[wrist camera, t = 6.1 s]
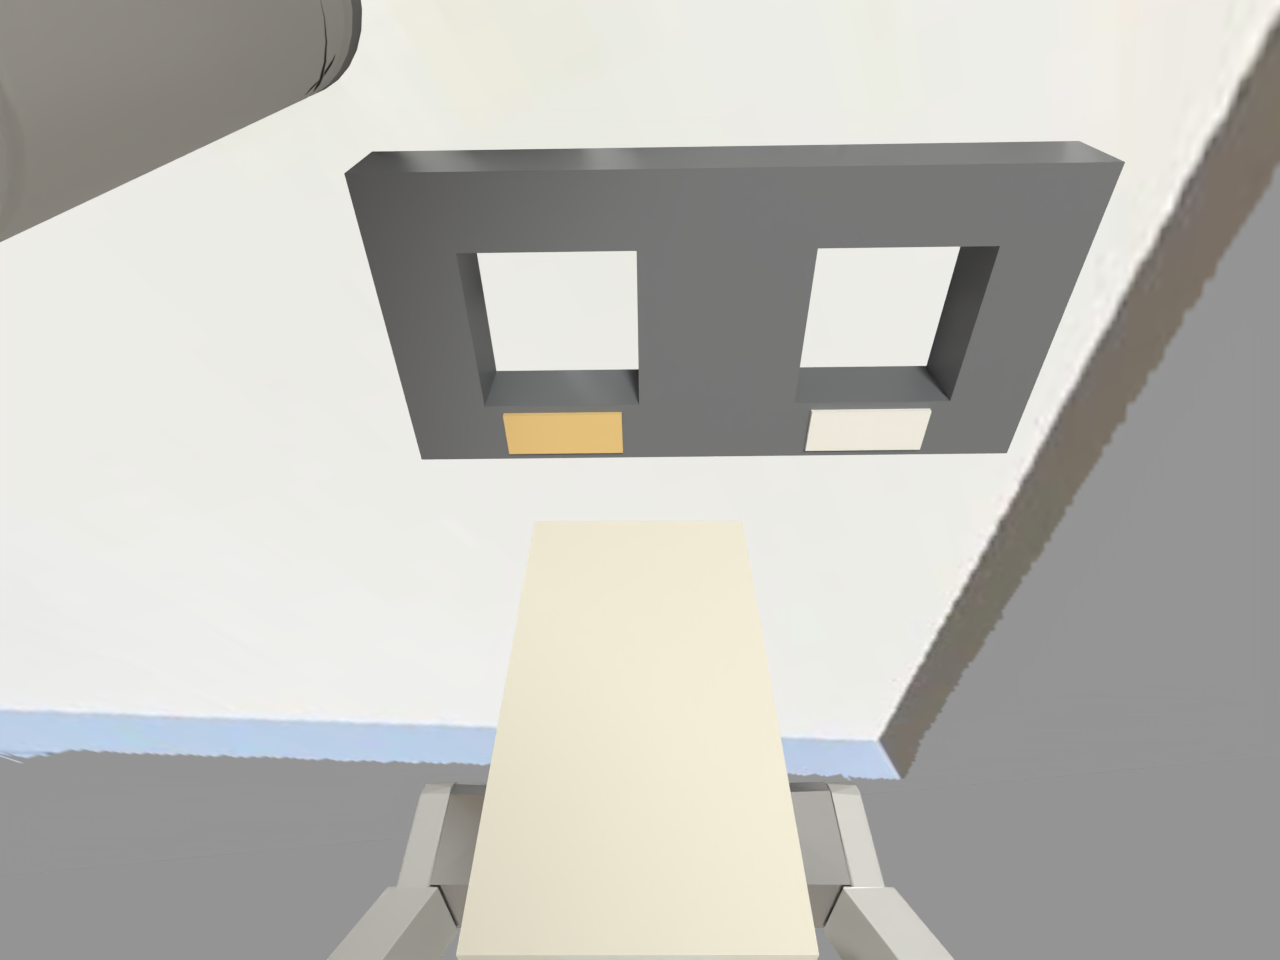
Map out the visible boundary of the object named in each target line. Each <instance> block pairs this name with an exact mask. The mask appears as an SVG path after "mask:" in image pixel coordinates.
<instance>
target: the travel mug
mask: <svg viewBox="0 0 1280 960" xmlns="http://www.w3.org/2000/svg"><path fill="white" fill-rule="evenodd" d="M361 27H362V5H361V0H0V242H2V241H4V240H6V239H8V238H10V237H13V236H15V235H17V234H19V233H21V232H23V231H25V230H27V229H30V228H32V227H34V226H36V225H38V224H40V223H42V222H44V221H47V220H49V219H51V218H53V217H55V216H57V215H59V214H61V213H64V212H66V211H68V210H70V209H72V208H74V207H76V206H78V205H81V204H83V203H85V202H87V201H89V200H91V199H93V198H95V197H98V196H100V195H102V194H104V193H106V192H108V191H110V190H112V189H115V188H117V187H119V186H121V185H123V184H125V183H127V182H129V181H132V180H134V179H136V178H138V177H140V176H142V175H144V174H146V173H149V172H151V171H153V170H155V169H157V168H159V167H161V166H163V165H166V164H168V163H170V162H172V161H174V160H176V159H178V158H180V157H183V156H185V155H187V154H189V153H191V152H193V151H195V150H197V149H200V148H202V147H204V146H206V145H208V144H210V143H212V142H214V141H217V140H219V139H221V138H223V137H225V136H227V135H229V134H231V133H234V132H236V131H238V130H240V129H242V128H244V127H246V126H248V125H251V124H253V123H255V122H257V121H259V120H261V119H263V118H265V117H268V116H270V115H272V114H274V113H276V112H278V111H280V110H282V109H285V108H287V107H289V106H291V105H293V104H295V103H297V102H299V101H302V100H304V99H306V98H308V97H309V96H312V95H314V94H316V93H319V92H321V91H323V90H325V89H326V88H328V87H329V86H331V85H332V84H333V83H335V82H336V81H337V80H339V79H340V77H341V76H342V75H343V74H344V72H345V71H346V70H347V69H348V67H349V66H350V64H351V62H352V60H353V58H354V55H355V53H356V51H357V48H358V43H359V39H360V35H361Z"/></svg>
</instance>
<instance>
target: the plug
mask: <svg viewBox="0 0 1280 960" xmlns="http://www.w3.org/2000/svg"><path fill="white" fill-rule="evenodd" d="M456 956H457V958H458V960H817V959H818V957H819V951H818V945H817V939H816V933H815V928H814V922H813V916H812V911H811V905H810V900H809V894H808V888H807V883H806V877H805V871H804V866H803V860H802V854H801V849H800V843H799V837H798V832H797V826H796V821H795V815H794V809H793V804H792V798H791V792H790V787H789V781H788V775H787V770H786V764H785V759H784V753H783V747H782V742H781V736H780V730H779V725H778V719H777V713H776V708H775V702H774V696H773V691H772V685H771V680H770V674H769V668H768V663H767V657H766V651H765V646H764V640H763V634H762V629H761V623H760V617H759V612H758V606H757V601H756V595H755V589H754V584H753V578H752V572H751V567H750V561H749V555H748V550H747V544H746V539H745V533H744V527H743V522H742V521H535V522H534V527H533V533H532V538H531V544H530V549H529V555H528V560H527V566H526V571H525V577H524V582H523V588H522V593H521V599H520V605H519V610H518V616H517V621H516V627H515V632H514V638H513V643H512V649H511V654H510V660H509V665H508V671H507V676H506V682H505V687H504V693H503V698H502V704H501V709H500V715H499V720H498V726H497V731H496V737H495V742H494V748H493V754H492V759H491V765H490V770H489V776H488V781H487V787H486V792H485V798H484V803H483V809H482V814H481V820H480V825H479V831H478V836H477V842H476V847H475V853H474V858H473V864H472V869H471V875H470V880H469V886H468V892H467V897H466V903H465V908H464V914H463V919H462V925H461V930H460V936H459V941H458V947H457V952H456Z"/></svg>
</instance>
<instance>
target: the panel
mask: <svg viewBox="0 0 1280 960" xmlns="http://www.w3.org/2000/svg"><path fill="white" fill-rule="evenodd" d="M1124 164H1125V162H1124V161H1122V160H1120V159H1118V158H1115V157H1113V156H1111V155H1109V154H1107V153H1104V152H1102V151H1100V150H1098V149H1096V148H1094V147H1091V146H1089V145H1087V144H1085V143H1083V142H1080V141H1043V142H976V143H909V144H842V145H774V146H707V147H640V148H573V149H506V150H439V151H372V152H371V153H369V154H368V155H367V156H366V157H364V158H363V159H362V160H361V161H359V162H358V163H357V164H355V165H354V166H353V167H352V168H350V169H349V170H348V171H347V172H345V173H344V175H345V178H346V182H347V186H348V189H349V193H350V197H351V200H352V204H353V208H354V211H355V215H356V219H357V223H358V226H359V230H360V234H361V237H362V241H363V245H364V248H365V252H366V256H367V259H368V263H369V267H370V270H371V274H372V278H373V282H374V285H375V289H376V293H377V296H378V300H379V304H380V307H381V311H382V315H383V318H384V322H385V326H386V330H387V333H388V337H389V341H390V344H391V348H392V352H393V355H394V359H395V363H396V366H397V370H398V374H399V377H400V381H401V385H402V389H403V392H404V396H405V400H406V403H407V407H408V411H409V414H410V418H411V422H412V425H413V429H414V433H415V437H416V440H417V444H418V448H419V451H420V455H421V459H422V460H434V459H527V458H621V457H714V456H807V455H900V454H994V453H1007V452H1008V449H1009V447H1010V444H1011V442H1012V439H1013V437H1014V435H1015V432H1016V430H1017V427H1018V425H1019V422H1020V420H1021V417H1022V415H1023V412H1024V410H1025V407H1026V405H1027V403H1028V400H1029V398H1030V395H1031V393H1032V390H1033V388H1034V385H1035V383H1036V380H1037V378H1038V375H1039V373H1040V371H1041V368H1042V366H1043V363H1044V361H1045V358H1046V356H1047V353H1048V351H1049V348H1050V346H1051V343H1052V341H1053V339H1054V336H1055V334H1056V331H1057V329H1058V326H1059V324H1060V321H1061V319H1062V316H1063V314H1064V311H1065V309H1066V307H1067V304H1068V302H1069V299H1070V297H1071V294H1072V292H1073V289H1074V287H1075V284H1076V282H1077V279H1078V277H1079V275H1080V272H1081V270H1082V267H1083V265H1084V262H1085V260H1086V257H1087V255H1088V252H1089V250H1090V247H1091V245H1092V243H1093V240H1094V238H1095V235H1096V233H1097V230H1098V228H1099V225H1100V223H1101V220H1102V218H1103V215H1104V213H1105V211H1106V208H1107V206H1108V203H1109V201H1110V198H1111V196H1112V193H1113V191H1114V188H1115V186H1116V183H1117V181H1118V179H1119V176H1120V174H1121V171H1122V169H1123V166H1124ZM894 247H960V250H959V253H958V257H957V260H956V264H955V267H954V271H953V274H952V278H951V281H950V285H949V288H948V292H947V295H946V299H945V302H944V306H943V309H942V313H941V316H940V320H939V323H938V327H937V330H936V334H935V337H934V341H933V345H932V348H931V352H930V355H929V359H928V362H927V366H871V367H800V363H801V356H802V350H803V343H804V337H805V330H806V323H807V317H808V310H809V304H810V297H811V291H812V284H813V277H814V271H815V264H816V258H817V251H818V249H819V248H894ZM597 251H637V306H638V364H639V369H619V370H535V371H496V365H495V359H494V353H493V347H492V341H491V335H490V329H489V323H488V317H487V311H486V305H485V299H484V293H483V287H482V281H481V275H480V269H479V263H478V257H477V253H523V252H597Z"/></svg>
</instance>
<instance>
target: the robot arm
mask: <svg viewBox="0 0 1280 960" xmlns="http://www.w3.org/2000/svg"><path fill="white" fill-rule="evenodd" d="M486 787H487V782H430V783H426V784H425V786H424V788H423V790H422V792H421V794H420V797H419V801H418V805H417V809H416V812H415V816H414V820H413V824H412V828H411V832H410V836H409V839H408V843H407V847H406V851H405V855H404V859H403V862H402V866H401V870H400V874H399V878H398V882H397V886H389V887H387V888H386V889H385V891H384V892H383V893H382V894H381V895H380V897H379V898H378V899H377V900H376V901H375V903H374V904H373V905H372V906H371V907H370V909H369V910H368V911H367V912H366V913H365V915H364V916H363V917H362V918H361V919H360V920H359V922H358V923H357V924H356V925H355V927H354V928H353V929H352V930H351V931H350V932H349V934H348V935H347V936H346V937H345V938H344V940H343V941H342V942H341V943H340V944H339V946H338V947H337V948H336V949H335V950H334V951H333V953H332V954H331V955H330V956H329V957H328V959H327V960H440V958H441V957H442V955H443V954H444V952H445V951H446V949H447V948H448V946H449V945H450V943H451V942H452V940H453V939H454V937H455V936H456V934H457V932H458V930H457V928H461V925H462V919H463V914H464V908H465V903H466V897H467V892H468V886H469V880H470V875H471V869H472V864H473V858H474V853H475V847H476V842H477V836H478V831H479V825H480V820H481V814H482V809H483V803H484V798H485V792H486ZM789 787H790V792H791V798H792V804H793V809H794V815H795V821H796V826H797V832H798V837H799V843H800V849H801V854H802V860H803V866H804V871H805V877H806V883H807V888H808V894H809V900H810V905H811V911H812V916H813V922H814V928H824V930H823V931H824V933H825V935H826V936H827V938H828V939H829V941H830V942H831V944H832V945H833V947H834V948H835V950H836V951H837V953H838V954H839V956H840V958H841V959H842V960H954V959H953V957H952V956H951V955H950V954H949V953H948V951H947V950H946V949H945V948H944V947H943V945H942V944H941V943H940V942H939V941H938V939H937V938H936V937H935V936H934V935H933V933H932V932H931V931H930V930H929V929H928V927H927V926H926V925H925V924H924V923H923V921H922V920H921V919H920V918H919V917H918V915H917V914H916V913H915V912H914V911H913V909H912V908H911V907H910V906H909V905H908V903H907V902H906V901H905V900H904V899H903V897H902V896H901V895H900V894H899V893H898V891H897V890H896V889H895V888H894V887H890V886H885V885H884V881H883V877H882V873H881V870H880V866H879V862H878V858H877V854H876V851H875V847H874V843H873V839H872V835H871V832H870V828H869V824H868V820H867V817H866V813H865V809H864V805H863V801H862V798H861V794H860V791H859V789H858V788H857V786H856V785H855V784H854V783H853V782H828V781H825V782H797V783H789Z"/></svg>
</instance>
